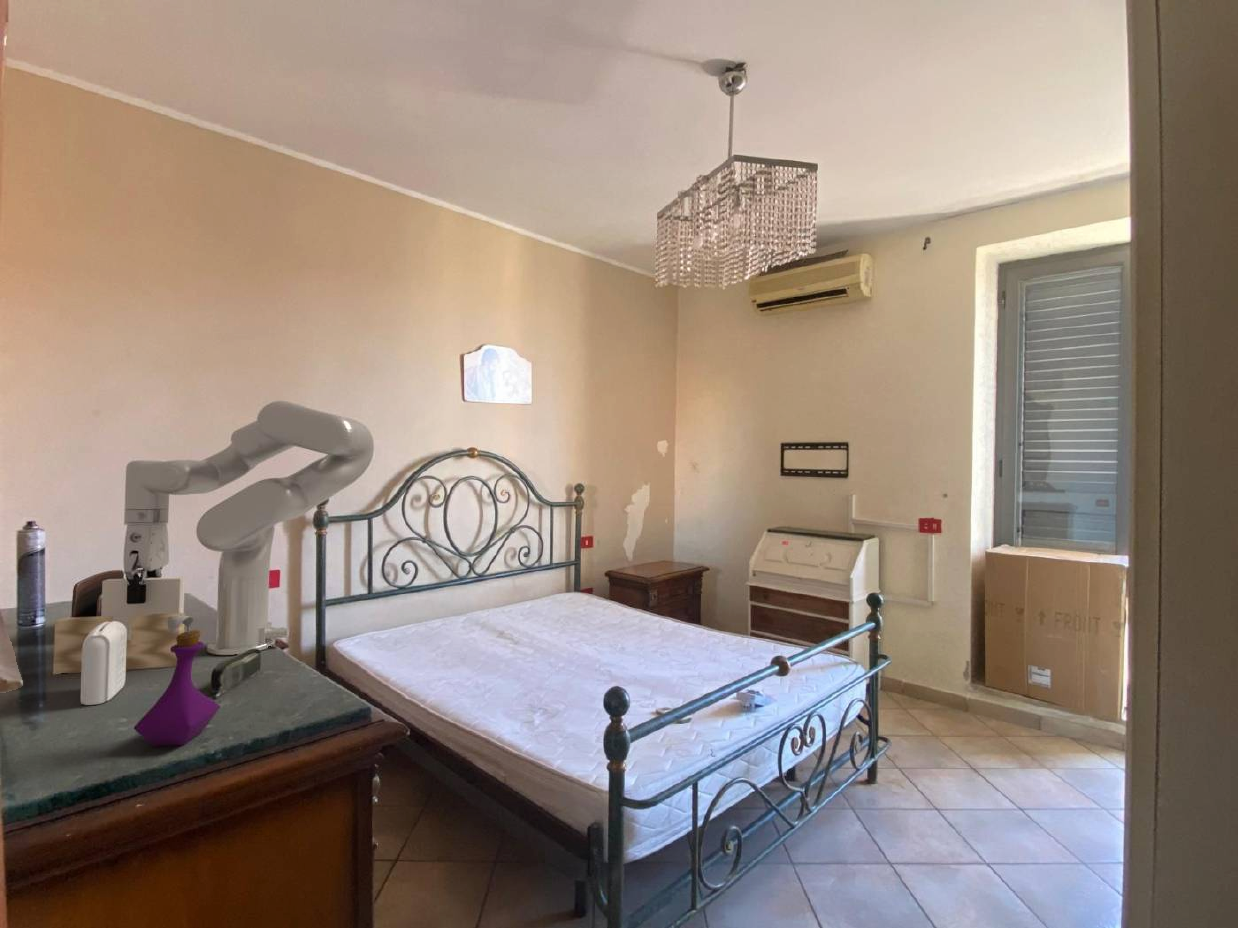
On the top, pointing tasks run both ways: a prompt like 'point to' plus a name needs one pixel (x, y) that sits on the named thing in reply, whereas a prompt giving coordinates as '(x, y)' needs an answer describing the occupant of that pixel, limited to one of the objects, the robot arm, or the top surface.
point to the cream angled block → (159, 599)
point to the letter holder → (91, 594)
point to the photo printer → (103, 663)
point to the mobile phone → (235, 671)
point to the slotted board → (141, 650)
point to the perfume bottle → (179, 697)
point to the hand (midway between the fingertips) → (143, 599)
